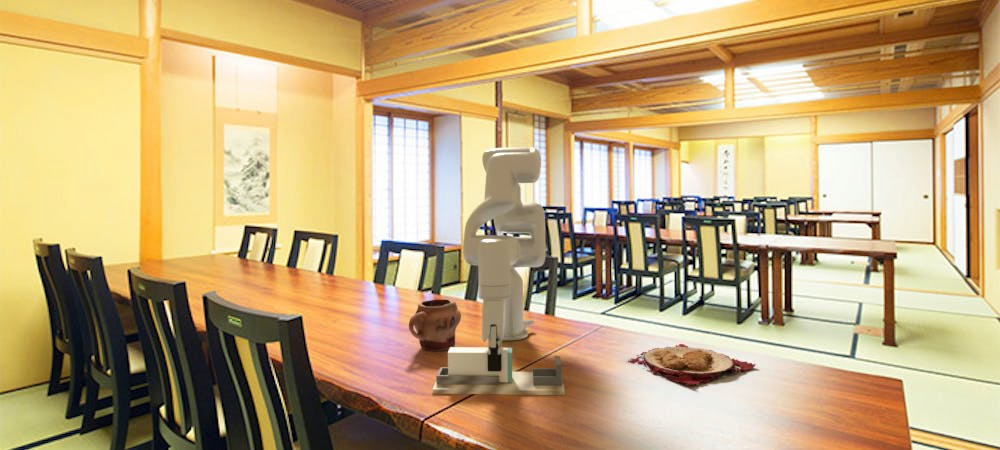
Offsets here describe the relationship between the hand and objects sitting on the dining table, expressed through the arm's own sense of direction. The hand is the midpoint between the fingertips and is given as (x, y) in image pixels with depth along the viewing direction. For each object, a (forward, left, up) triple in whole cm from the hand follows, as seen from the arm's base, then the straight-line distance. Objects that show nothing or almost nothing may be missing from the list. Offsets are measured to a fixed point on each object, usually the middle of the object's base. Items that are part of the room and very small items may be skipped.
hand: (495, 366), depth 121 cm
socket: (-9, +9, -3) cm, 13 cm away
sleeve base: (-1, +1, -4) cm, 4 cm away
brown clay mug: (-6, -33, -5) cm, 34 cm away
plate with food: (-46, +24, -5) cm, 52 cm away
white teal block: (+2, -2, -3) cm, 5 cm away
